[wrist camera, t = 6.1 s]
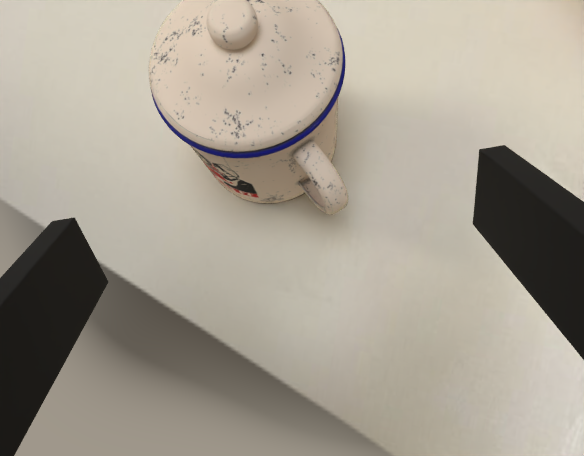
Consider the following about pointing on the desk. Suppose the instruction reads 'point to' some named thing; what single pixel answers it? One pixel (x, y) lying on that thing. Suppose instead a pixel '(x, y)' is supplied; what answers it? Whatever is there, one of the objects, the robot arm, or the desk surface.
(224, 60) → the teacup with lid
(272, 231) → the desk surface
